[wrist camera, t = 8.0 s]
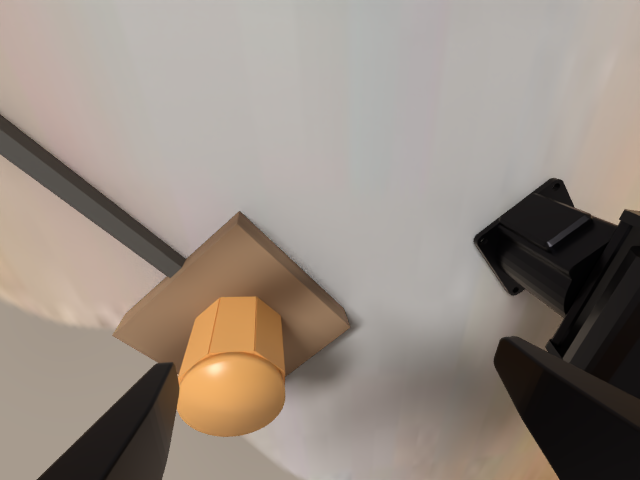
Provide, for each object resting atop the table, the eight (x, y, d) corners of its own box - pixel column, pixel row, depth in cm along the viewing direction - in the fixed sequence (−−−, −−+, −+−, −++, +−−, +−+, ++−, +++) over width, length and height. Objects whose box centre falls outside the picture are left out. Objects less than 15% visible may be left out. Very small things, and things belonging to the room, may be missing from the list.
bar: (185, 259, 19) (182, 267, 19) (174, 269, 20) (170, 278, 19) (-140, 6, 13) (-170, -1, 12) (-153, 24, 13) (-184, 19, 12)
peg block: (343, 308, 23) (368, 375, 17) (242, 387, 24) (236, 471, 19) (239, 210, 19) (229, 259, 13) (125, 313, 20) (75, 394, 15)
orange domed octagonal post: (296, 328, 20) (306, 395, 16) (240, 373, 21) (234, 449, 17) (238, 281, 18) (230, 343, 14) (178, 333, 19) (152, 407, 15)
